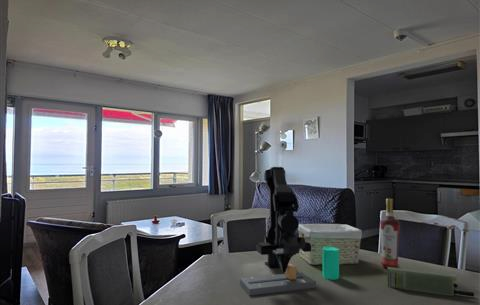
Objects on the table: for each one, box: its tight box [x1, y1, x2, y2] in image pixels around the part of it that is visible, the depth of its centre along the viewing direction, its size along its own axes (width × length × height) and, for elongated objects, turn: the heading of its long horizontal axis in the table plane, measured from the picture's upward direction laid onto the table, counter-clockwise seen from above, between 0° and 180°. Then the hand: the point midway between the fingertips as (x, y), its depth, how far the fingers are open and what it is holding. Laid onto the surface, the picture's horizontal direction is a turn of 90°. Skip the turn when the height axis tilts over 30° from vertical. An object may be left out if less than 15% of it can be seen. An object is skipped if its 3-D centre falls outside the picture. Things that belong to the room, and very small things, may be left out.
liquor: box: [379, 198, 401, 270], centre depth 131 cm, size 7×7×28 cm
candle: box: [321, 247, 340, 280], centre depth 119 cm, size 6×6×12 cm
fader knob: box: [284, 262, 297, 279], centre depth 111 cm, size 4×2×4 cm, turn 17°
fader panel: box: [239, 271, 317, 296], centre depth 109 cm, size 10×24×2 cm, turn 107°
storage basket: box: [297, 223, 363, 266], centre depth 140 cm, size 24×16×15 cm
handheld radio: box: [387, 267, 475, 297], centre depth 106 cm, size 7×3×25 cm
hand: (283, 272), depth 110 cm, fingers closed
